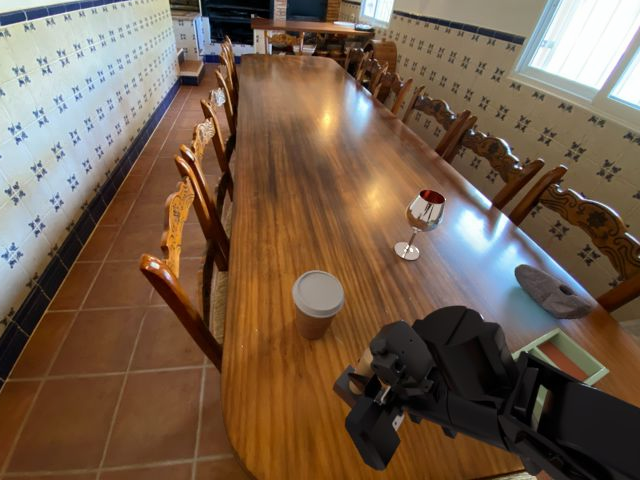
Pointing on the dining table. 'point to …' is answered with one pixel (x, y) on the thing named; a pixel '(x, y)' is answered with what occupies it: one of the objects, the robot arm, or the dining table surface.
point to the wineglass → (421, 219)
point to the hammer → (346, 387)
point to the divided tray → (563, 361)
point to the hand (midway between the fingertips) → (354, 369)
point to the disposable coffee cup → (316, 302)
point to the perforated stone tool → (551, 293)
